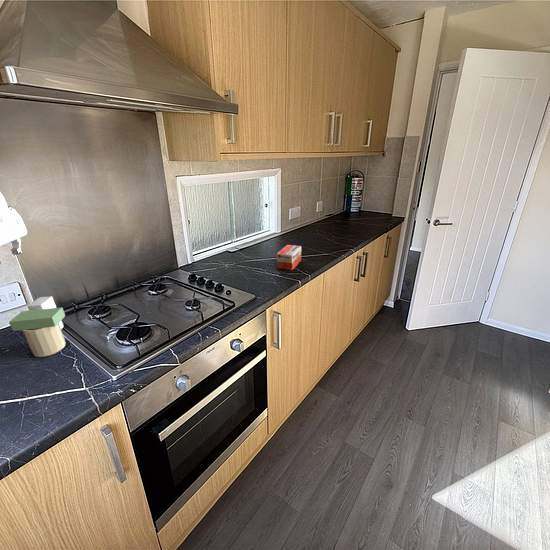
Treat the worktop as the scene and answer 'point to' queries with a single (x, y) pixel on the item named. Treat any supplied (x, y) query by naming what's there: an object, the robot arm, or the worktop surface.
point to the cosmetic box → (43, 305)
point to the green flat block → (37, 319)
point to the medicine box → (289, 257)
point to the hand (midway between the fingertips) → (7, 259)
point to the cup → (45, 340)
